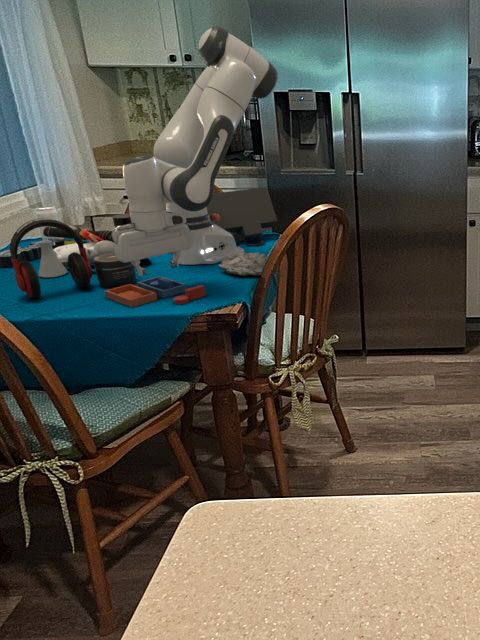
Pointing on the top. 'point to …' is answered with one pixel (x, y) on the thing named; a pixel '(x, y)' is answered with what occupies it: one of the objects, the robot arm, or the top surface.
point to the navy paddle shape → (162, 284)
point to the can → (47, 213)
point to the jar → (113, 271)
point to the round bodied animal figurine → (100, 250)
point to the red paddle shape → (191, 294)
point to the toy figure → (89, 235)
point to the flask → (50, 261)
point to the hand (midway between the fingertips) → (159, 271)
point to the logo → (28, 252)
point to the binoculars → (71, 249)
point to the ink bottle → (121, 220)
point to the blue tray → (175, 290)
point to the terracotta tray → (131, 295)
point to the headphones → (26, 271)
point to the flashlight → (62, 234)
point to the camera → (243, 212)
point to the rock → (244, 263)
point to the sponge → (73, 242)
